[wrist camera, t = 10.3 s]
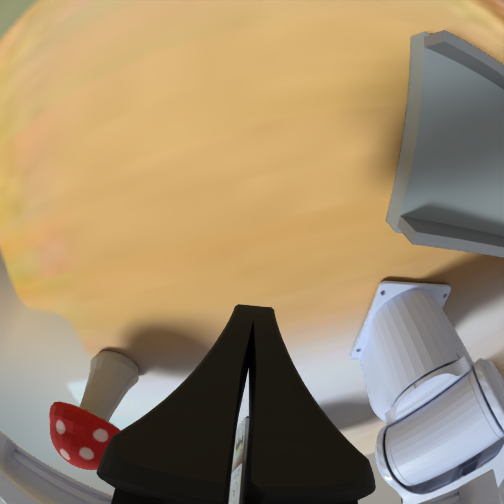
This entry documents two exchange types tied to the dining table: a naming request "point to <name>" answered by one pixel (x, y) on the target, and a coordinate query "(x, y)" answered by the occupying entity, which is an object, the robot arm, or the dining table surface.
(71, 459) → the decorative mushroom
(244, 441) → the coffee box
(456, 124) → the plate
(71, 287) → the dining table surface
